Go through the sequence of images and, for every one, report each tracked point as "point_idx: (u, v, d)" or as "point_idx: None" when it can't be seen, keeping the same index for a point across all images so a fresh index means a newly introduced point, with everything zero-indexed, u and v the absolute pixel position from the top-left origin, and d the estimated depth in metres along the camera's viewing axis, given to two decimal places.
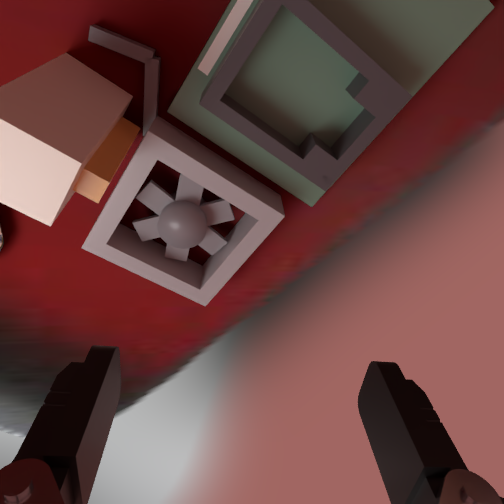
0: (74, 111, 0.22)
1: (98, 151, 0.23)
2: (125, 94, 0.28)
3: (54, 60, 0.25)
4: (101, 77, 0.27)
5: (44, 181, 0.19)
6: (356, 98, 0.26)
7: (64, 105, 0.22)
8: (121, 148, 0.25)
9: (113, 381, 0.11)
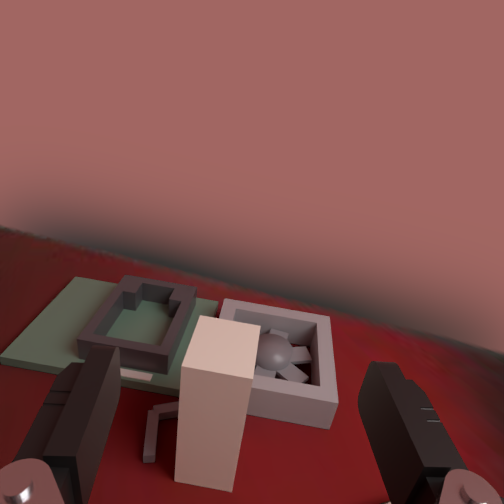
0: None
1: None
2: None
3: None
4: None
5: (223, 330, 0.27)
6: (134, 292, 0.43)
7: None
8: None
9: (113, 381, 0.11)
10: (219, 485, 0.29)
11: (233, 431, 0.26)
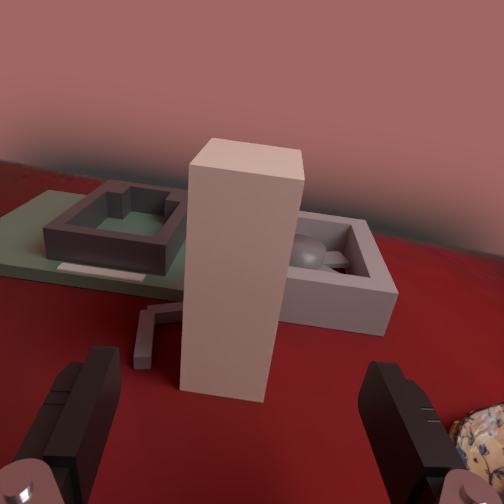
0: None
1: None
2: None
3: (181, 353, 0.19)
4: None
5: (248, 148, 0.18)
6: (120, 193, 0.34)
7: None
8: None
9: (113, 381, 0.11)
10: (245, 392, 0.20)
11: (269, 290, 0.17)
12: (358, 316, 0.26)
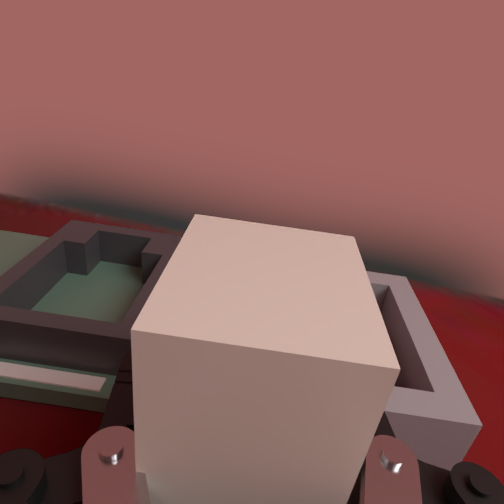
0: None
1: None
2: None
3: None
4: None
5: (262, 241, 0.10)
6: (83, 242, 0.26)
7: None
8: None
9: None
10: None
11: None
12: (417, 451, 0.17)
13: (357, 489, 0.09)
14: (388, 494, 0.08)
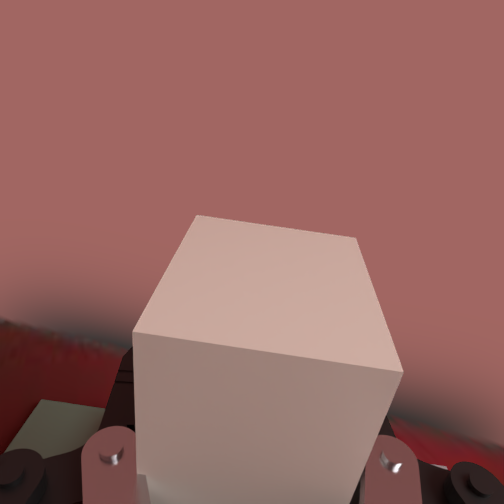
0: None
1: None
2: None
3: None
4: None
5: (263, 243, 0.10)
6: None
7: None
8: None
9: None
10: None
11: None
12: None
13: (357, 489, 0.09)
14: (388, 494, 0.08)
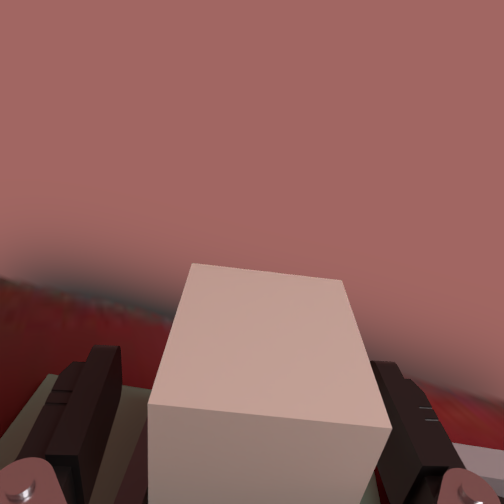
0: None
1: None
2: None
3: None
4: None
5: (258, 292, 0.10)
6: None
7: None
8: None
9: (114, 381, 0.11)
10: None
11: None
12: None
13: None
14: None
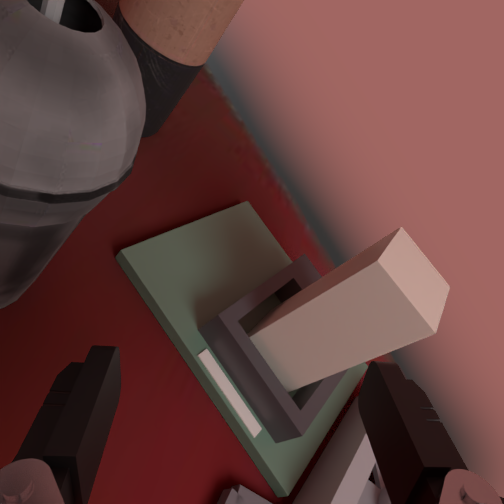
0: (331, 276, 0.24)
1: None
2: (273, 309, 0.29)
3: (258, 331, 0.25)
4: (259, 323, 0.28)
5: (418, 260, 0.21)
6: None
7: (328, 280, 0.23)
8: None
9: (113, 381, 0.11)
10: None
11: (347, 357, 0.22)
12: None
13: None
14: None
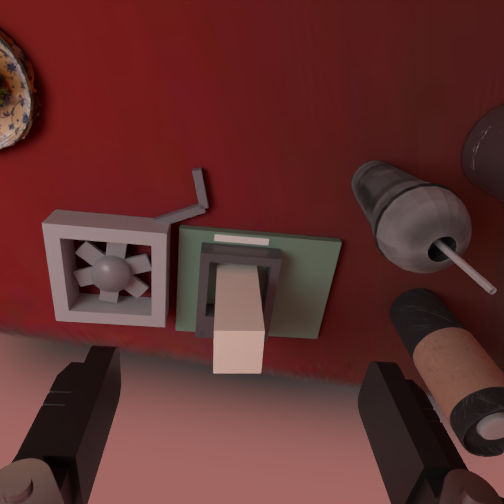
0: None
1: None
2: None
3: (257, 273, 0.42)
4: None
5: (240, 364, 0.35)
6: None
7: None
8: None
9: (113, 381, 0.11)
10: (226, 263, 0.43)
11: (222, 296, 0.38)
12: (71, 216, 0.40)
13: None
14: None
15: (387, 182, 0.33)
